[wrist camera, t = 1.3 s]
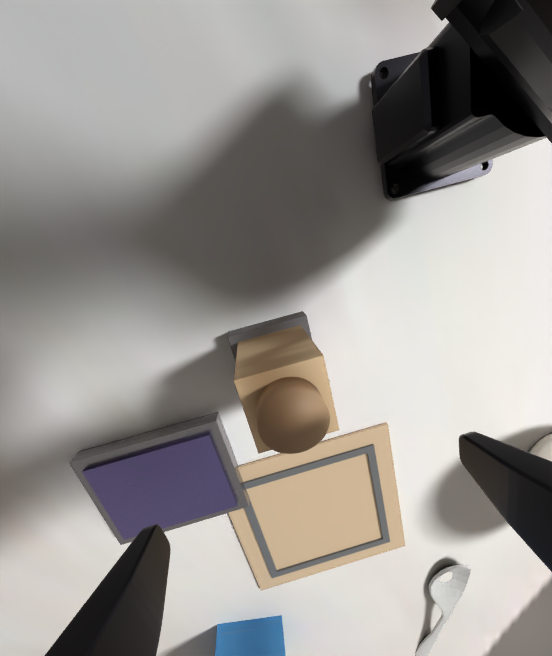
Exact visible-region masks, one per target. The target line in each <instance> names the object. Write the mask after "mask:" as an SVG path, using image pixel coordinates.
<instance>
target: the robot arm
mask: <svg viewBox="0 0 552 656" xmlns="http://www.w3.org/2000/svg"><path fill="white" fill-rule="evenodd" d="M431 9H432V10H433V11H434V13H435V14H436V15H437V16H438V17H439V18H440V20H441V21H442V20H443V19H444V18H446V19H447V20H448V21H449V23H448V24H447V25H446V27H445V28H444V29H443V30H442V31H441V32H440V33H439V35H438V36H437V37H436V38H435V39H434V40H433V42H432V43H431V44H430V45H429V46H428V47H427V48H426V49H423V50H422V51H421V52H418V53H414V54H410V55H406V56H402V57H398V58H394V59H389V60H385V61H382V62H380V63H379V64H378V65H377V66H376V68H375V69H374V71H373V73H372V75H371V83H372V92H373V101H374V109H373V110H372V116H373V124H374V133H375V142H376V150H377V159H378V162H379V163H380V164H381V172H382V181H383V190H384V195H385V197H386V198H387V199H389V200H393V199H397V198H401V197H405V196H409V195H412V194H416V193H420V192H424V191H428V190H431V189H435V188H439V187H443V186H447V185H450V184H454V183H458V182H462V181H466V180H469V179H473V178H477V177H480V176H483V175H486V174H488V173H489V172H490V170H491V168H492V165H493V158H496V157H498V156H501V155H504V154H506V153H509V152H511V151H514V150H516V149H519V148H521V147H524V146H526V145H529V144H531V143H534V142H537V141H539V140H542V139H544V138H548V139H549V141H550V142H551V143H552V0H435V2H434V4H433V5H432V7H431ZM379 72H382V73H383V74H384V76H385V79H382V78H381V77H380V75H379ZM481 164H482V166H483V168H482V169H481ZM392 186H394V187H395V188H396V192H395V194H394V193H392V191H391V188H392ZM459 454H460V459H461V462H462V464H463V465H464V467H465V468H466V469H467V470H468V472H469V473H470V474H471V476H472V477H473V478H474V480H475V481H476V482H477V484H478V485H479V486H480V487H481V489H482V490H483V491H484V493H485V494H486V495H487V497H488V498H489V499H490V501H491V502H492V503H493V504H494V506H495V507H496V508H497V510H498V511H499V512H500V514H501V515H502V516H503V517H504V519H505V520H506V521H507V522H508V523H509V524H510V526H511V527H512V528H513V529H514V530H515V531H516V533H517V534H518V535H519V536H520V537H521V538H522V539H523V540H524V541H525V543H526V544H527V545H528V546H529V547H530V548H531V549H532V550H533V552H534V553H535V554H536V555H537V556H538V557H539V558H540V559H541V560H542V562H543V563H544V564H545V565H546V566H547V567H548V568H549V569H550V571H551V572H552V461H550V460H547V459H544V458H542V457H539V456H537V455H534V454H532V453H529V452H526V451H524V450H521V449H519V448H516V447H513V446H511V445H508V444H506V443H503V442H500V441H498V440H495V439H493V438H490V437H488V436H485V435H482V434H480V433H477V432H469V433H466V434H462V435H460V437H459ZM169 559H170V544H169V541H168V539H167V538H166V536H165V534H164V532H163V530H162V528H161V527H160V525H158V524H155V525H152V526H148V527H145V528H143V529H142V530H141V531H140V532H139V534H138V535H137V536H136V538H135V539H134V540H133V542H132V543H131V544H130V545H129V547H128V548H127V549H126V551H125V552H124V553H123V555H122V556H121V557H120V558H119V560H118V561H117V562H116V564H115V565H114V566H113V568H112V569H111V570H110V571H109V573H108V574H107V575H106V577H105V578H104V579H103V581H102V582H101V583H100V584H99V586H98V587H97V588H96V590H95V591H94V592H93V594H92V595H91V596H90V597H89V599H88V600H87V601H86V603H85V604H84V605H83V607H82V608H81V609H80V610H79V612H78V613H77V614H76V616H75V617H74V618H73V620H72V621H71V622H70V623H69V625H68V626H67V627H66V629H65V630H64V631H63V633H62V634H61V635H60V636H59V638H58V639H57V640H56V642H55V643H54V644H53V645H52V647H51V648H50V649H49V651H48V652H47V653H46V655H45V656H156V653H157V648H158V643H159V637H160V632H161V626H162V618H163V611H164V602H165V594H166V585H167V577H168V568H169Z"/></svg>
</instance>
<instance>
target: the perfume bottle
mask: <svg viewBox="0 0 552 656" xmlns="http://www.w3.org/2000/svg"><path fill="white" fill-rule="evenodd" d="M215 656H285V645H284V635H283V625H282V615H281V616H274V617H267V618H260V619H252V620H245V621H238V622H231V623H223V624H218V625H217V638H216V650H215Z"/></svg>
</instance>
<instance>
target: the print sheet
mask: <svg viewBox="0 0 552 656" xmlns="http://www.w3.org/2000/svg"><path fill="white" fill-rule="evenodd" d="M238 469H239V472H240V474H241V477H242V480H243V484H244V487H245V489H246V492H247V495H248V497H249V507H246V508H242V509H239V510H236V511H232V512H229V516H230V518H231V520H232V523H233V525H234V528H235V530H236V532H237V535H238V537H239V539H240V542H241V544H242V547H243V549H244V551H245V554H246V556H247V558H248V561H249V563H250V565H251V568H252V570H253V573H254V575H255V577H256V580H257V582H258V584H259V587H260V589H261V590H265V589H268V588H271V587H274V586H278V585H281V584H284V583H287V582H290V581H294V580H297V579H300V578H303V577H306V576H310V575H313V574H316V573H319V572H323V571H326V570H329V569H332V568H335V567H339V566H342V565H345V564H348V563H351V562H355V561H358V560H361V559H364V558H368V557H371V556H374V555H377V554H380V553H384V552H387V551H390V550H393V549H397V548H400V547H403V546H405V541H404V534H403V527H402V520H401V513H400V506H399V499H398V492H397V485H396V478H395V471H394V464H393V457H392V450H391V443H390V436H389V429H388V424H387V423H384V424H380V425H377V426H373V427H370V428H366V429H363V430H360V431H356V432H353V433H349V434H346V435H343V436H339V437H336V438H332V439H329V440H326V441H322V442H319V443H318V444H317V445H316V446H314V447H313V448H311V449H309V450H307V451H304V452H301V453H296V454H284V453H281V454H278V455H274V456H271V457H268V458H264V459H261V460H257V461H254V462H251V463H247V464H244V465H240V466H238Z"/></svg>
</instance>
